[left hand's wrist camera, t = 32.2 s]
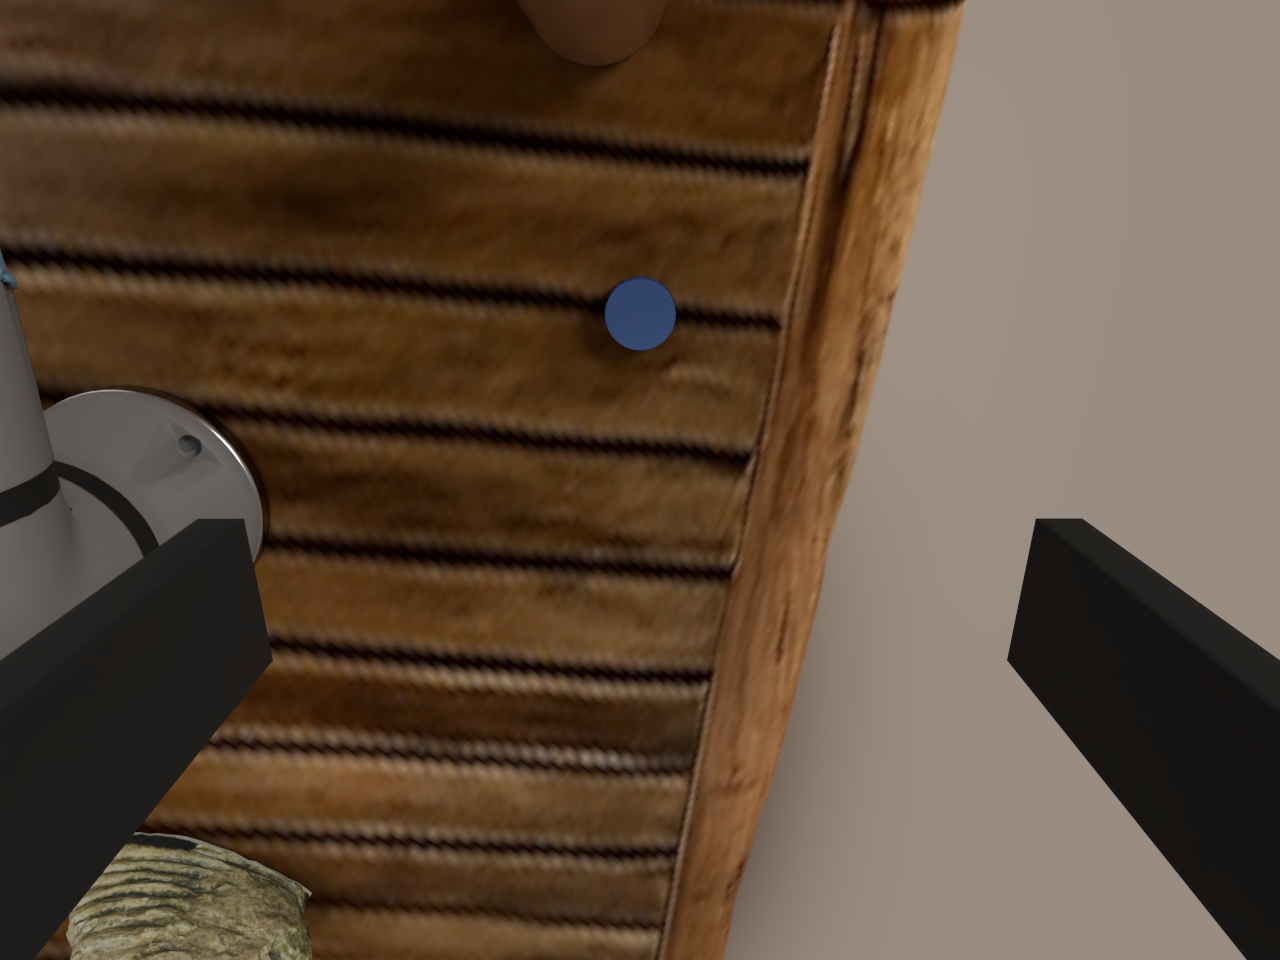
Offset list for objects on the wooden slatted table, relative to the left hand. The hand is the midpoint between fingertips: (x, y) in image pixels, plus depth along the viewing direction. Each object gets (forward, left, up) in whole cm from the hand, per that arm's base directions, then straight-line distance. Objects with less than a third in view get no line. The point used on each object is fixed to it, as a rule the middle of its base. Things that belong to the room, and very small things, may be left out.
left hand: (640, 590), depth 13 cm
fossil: (-32, -47, -34) cm, 66 cm away
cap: (0, 0, -33) cm, 33 cm away
